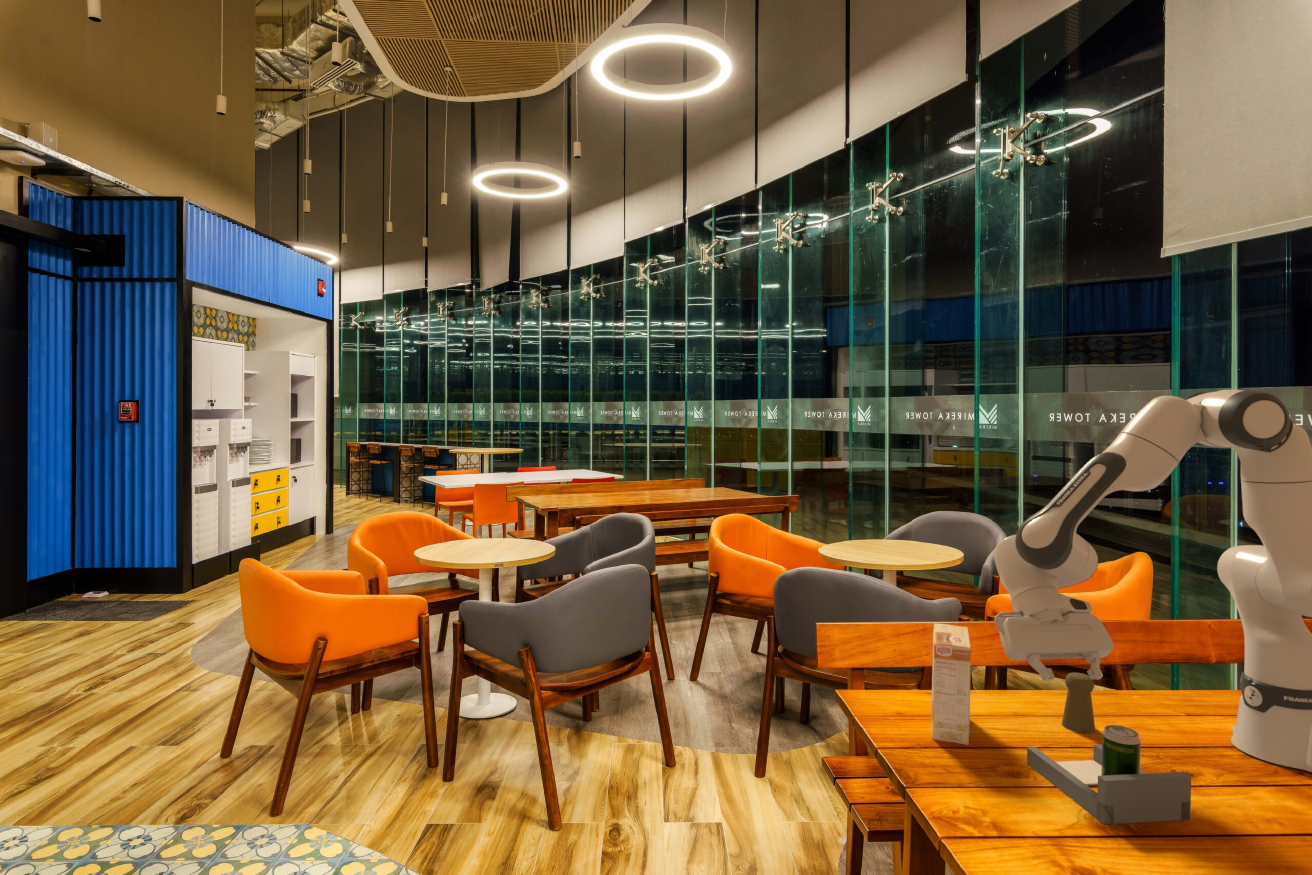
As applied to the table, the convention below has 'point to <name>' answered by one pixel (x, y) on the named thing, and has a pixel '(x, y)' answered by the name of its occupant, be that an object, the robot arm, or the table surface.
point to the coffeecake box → (951, 684)
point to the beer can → (1120, 751)
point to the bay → (1117, 789)
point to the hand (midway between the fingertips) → (1073, 678)
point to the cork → (1079, 704)
